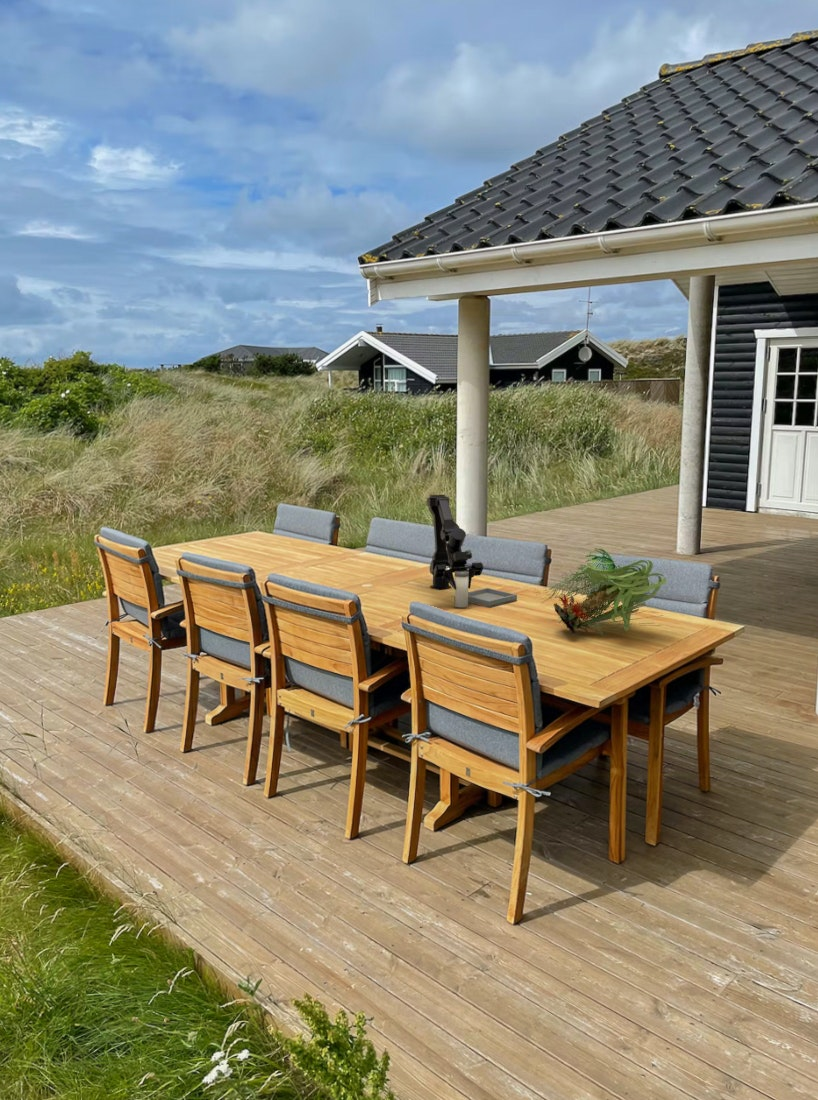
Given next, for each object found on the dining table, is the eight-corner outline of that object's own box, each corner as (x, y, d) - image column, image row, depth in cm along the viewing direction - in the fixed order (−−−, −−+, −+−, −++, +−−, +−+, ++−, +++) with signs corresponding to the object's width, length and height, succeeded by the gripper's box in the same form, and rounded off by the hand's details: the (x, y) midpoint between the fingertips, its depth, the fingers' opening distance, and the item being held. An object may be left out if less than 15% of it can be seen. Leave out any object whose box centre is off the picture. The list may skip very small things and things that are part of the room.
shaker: (451, 605, 332) (451, 571, 330) (461, 603, 336) (461, 569, 333) (461, 608, 328) (461, 573, 326) (471, 605, 332) (471, 571, 329)
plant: (534, 594, 318) (632, 544, 316) (580, 678, 303) (683, 626, 302) (524, 562, 286) (633, 507, 284) (575, 654, 272) (690, 596, 270)
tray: (459, 600, 342) (459, 594, 342) (487, 593, 353) (487, 587, 352) (489, 607, 331) (489, 601, 330) (516, 600, 341) (516, 594, 341)
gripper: (435, 544, 329) (442, 578, 321) (482, 541, 333) (490, 576, 325) (430, 560, 338) (437, 594, 330) (476, 557, 342) (484, 591, 334)
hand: (462, 588), depth 329 cm, fingers closed on shaker, 5 cm apart
